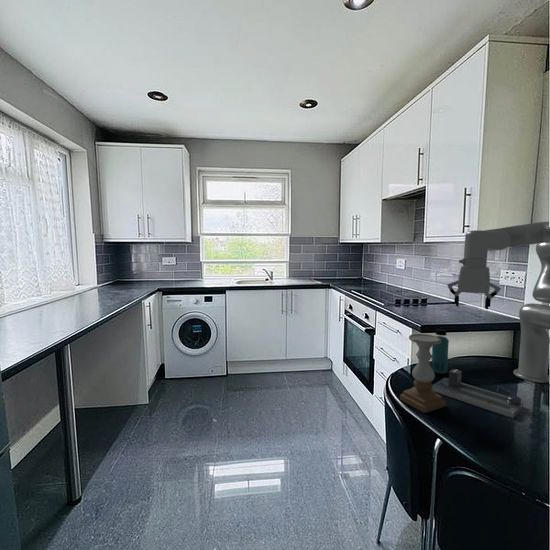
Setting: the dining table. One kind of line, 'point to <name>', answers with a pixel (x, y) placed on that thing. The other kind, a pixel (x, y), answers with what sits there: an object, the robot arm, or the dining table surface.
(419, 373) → the candle holder
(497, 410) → the console
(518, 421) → the dining table surface
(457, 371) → the fader tab
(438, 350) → the beverage bottle
